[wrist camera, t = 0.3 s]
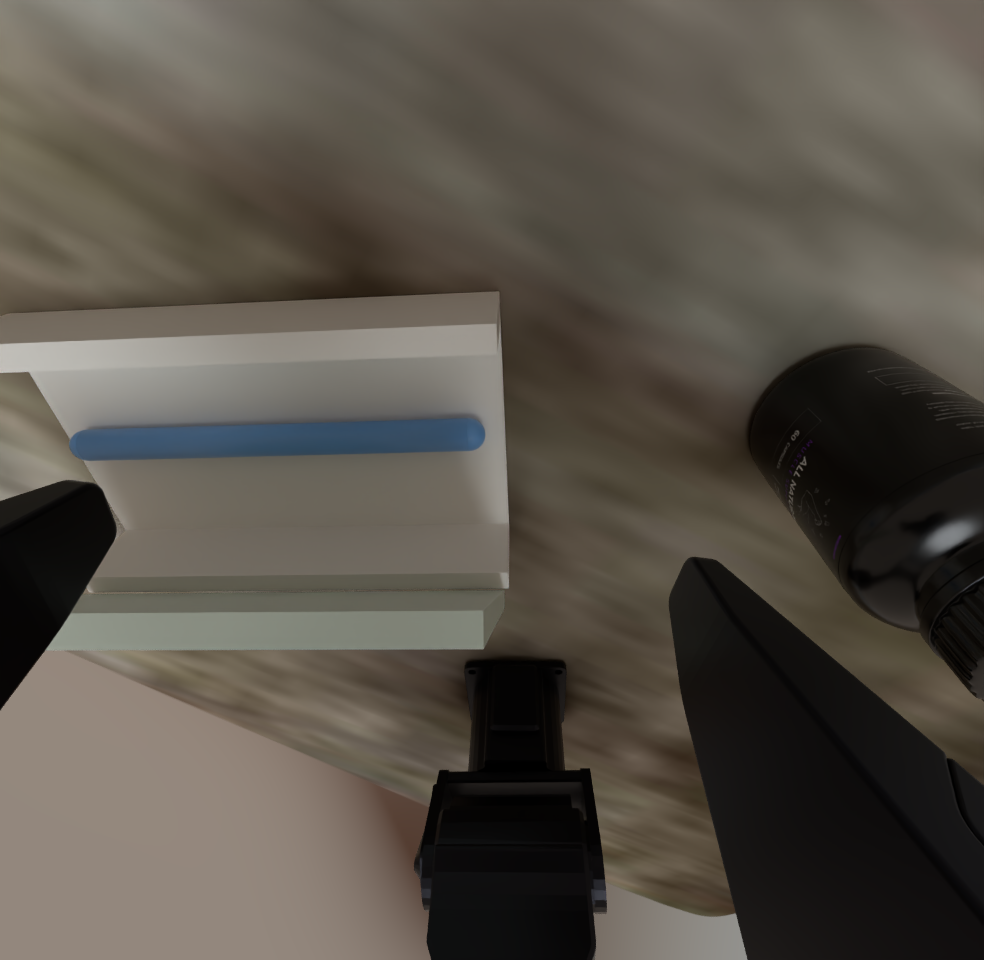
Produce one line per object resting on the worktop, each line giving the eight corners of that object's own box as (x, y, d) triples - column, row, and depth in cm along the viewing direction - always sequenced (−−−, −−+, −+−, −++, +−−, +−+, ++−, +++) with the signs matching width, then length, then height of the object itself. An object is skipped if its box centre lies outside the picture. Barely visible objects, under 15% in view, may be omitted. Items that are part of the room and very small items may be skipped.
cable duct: (509, 530, 26) (508, 588, 23) (141, 536, 27) (89, 592, 24) (499, 291, 19) (496, 323, 16) (8, 313, 20) (-90, 348, 17)
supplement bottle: (712, 423, 22) (874, 657, 12) (867, 306, 19) (1251, 491, 9) (795, 507, 24) (985, 760, 15) (944, 416, 21) (1311, 656, 12)
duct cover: (504, 589, 23) (505, 607, 23) (99, 593, 24) (96, 610, 24) (483, 610, 11) (483, 649, 11) (-334, 616, 12) (-345, 651, 12)
